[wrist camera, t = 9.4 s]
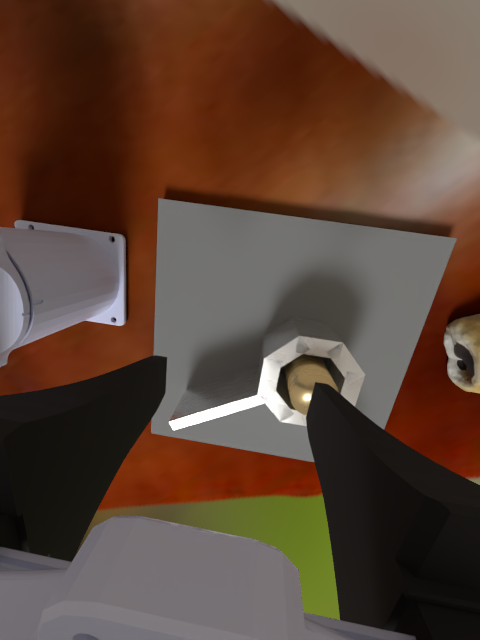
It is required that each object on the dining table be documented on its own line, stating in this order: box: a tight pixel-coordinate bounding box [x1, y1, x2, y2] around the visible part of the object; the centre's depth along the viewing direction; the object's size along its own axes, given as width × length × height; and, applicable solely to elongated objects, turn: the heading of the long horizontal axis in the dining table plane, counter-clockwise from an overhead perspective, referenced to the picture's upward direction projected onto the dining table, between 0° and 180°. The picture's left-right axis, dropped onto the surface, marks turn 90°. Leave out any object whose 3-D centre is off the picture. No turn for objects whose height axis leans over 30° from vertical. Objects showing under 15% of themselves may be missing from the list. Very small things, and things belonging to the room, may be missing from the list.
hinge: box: [169, 317, 365, 430], centre depth 20 cm, size 16×13×4 cm
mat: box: [151, 198, 457, 462], centre depth 21 cm, size 22×22×1 cm
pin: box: [284, 354, 339, 415], centre depth 18 cm, size 3×3×6 cm
